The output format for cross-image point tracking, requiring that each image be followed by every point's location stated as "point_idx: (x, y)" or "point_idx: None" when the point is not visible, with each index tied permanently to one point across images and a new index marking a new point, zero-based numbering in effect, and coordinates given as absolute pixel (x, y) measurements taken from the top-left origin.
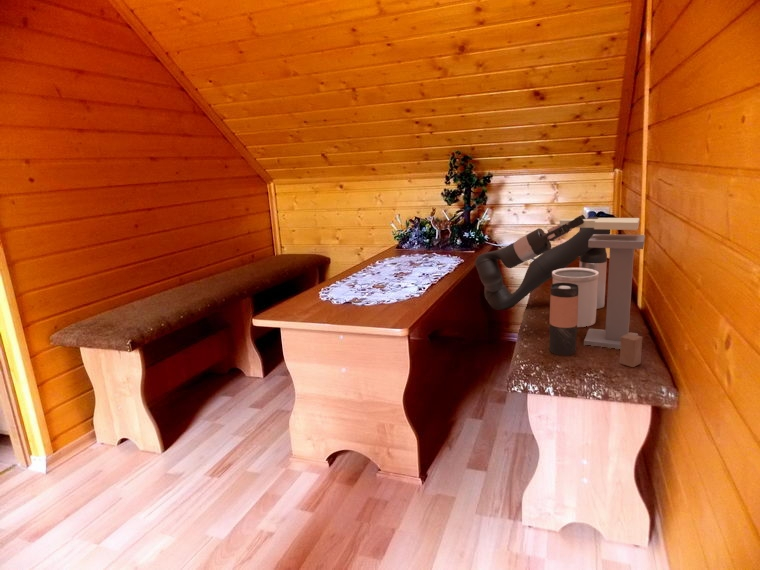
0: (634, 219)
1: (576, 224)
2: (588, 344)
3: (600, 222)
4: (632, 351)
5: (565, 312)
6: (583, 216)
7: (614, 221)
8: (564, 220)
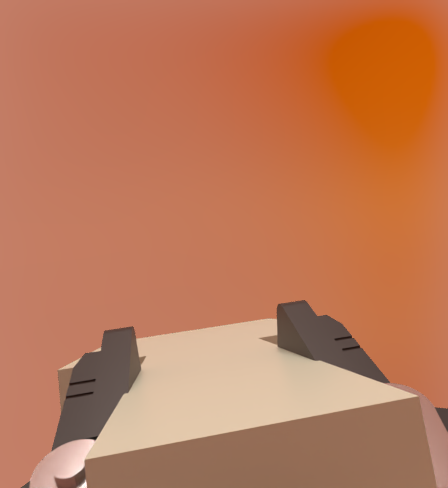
0: (165, 335)
1: None
2: None
3: None
4: None
5: None
6: (134, 343)
7: (259, 327)
8: (352, 380)
